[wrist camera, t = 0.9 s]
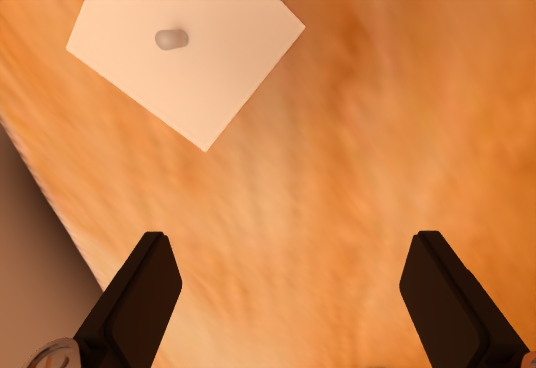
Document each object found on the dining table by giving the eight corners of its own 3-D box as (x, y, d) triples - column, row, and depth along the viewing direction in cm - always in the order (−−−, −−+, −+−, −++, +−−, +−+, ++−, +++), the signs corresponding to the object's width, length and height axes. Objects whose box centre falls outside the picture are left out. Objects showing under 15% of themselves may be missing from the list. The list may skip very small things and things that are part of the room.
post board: (152, -133, 23) (109, -184, 17) (304, 26, 28) (309, 27, 23) (77, 47, 30) (31, 52, 25) (209, 146, 36) (195, 168, 30)
